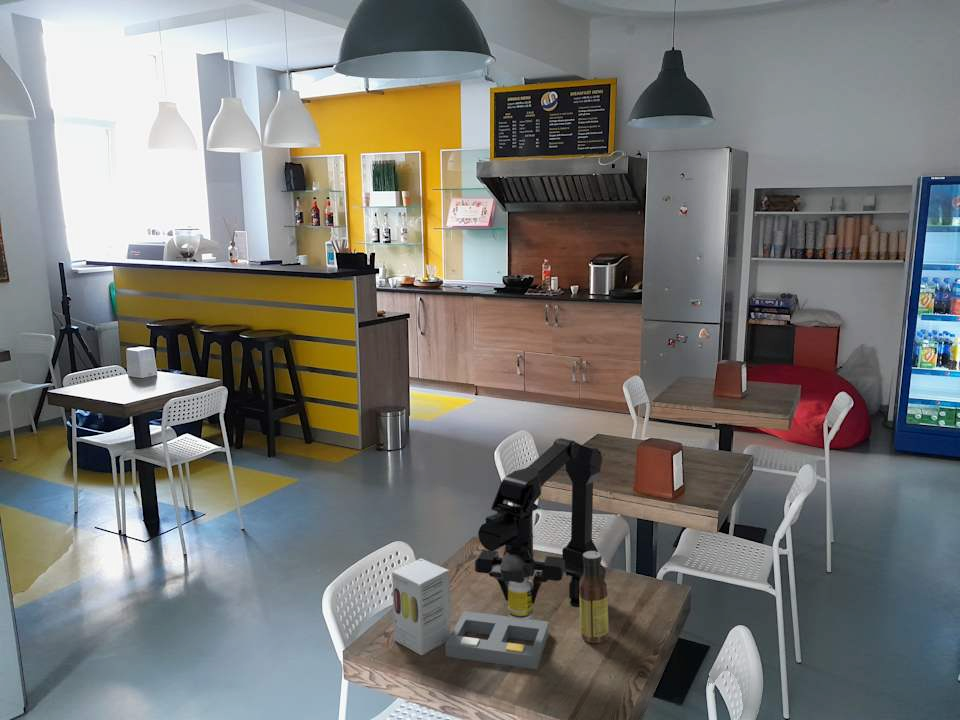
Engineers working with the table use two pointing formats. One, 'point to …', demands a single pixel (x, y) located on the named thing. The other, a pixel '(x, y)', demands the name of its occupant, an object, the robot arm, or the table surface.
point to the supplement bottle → (520, 599)
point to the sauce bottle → (593, 600)
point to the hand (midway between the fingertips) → (520, 601)
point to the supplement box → (421, 606)
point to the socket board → (498, 640)
